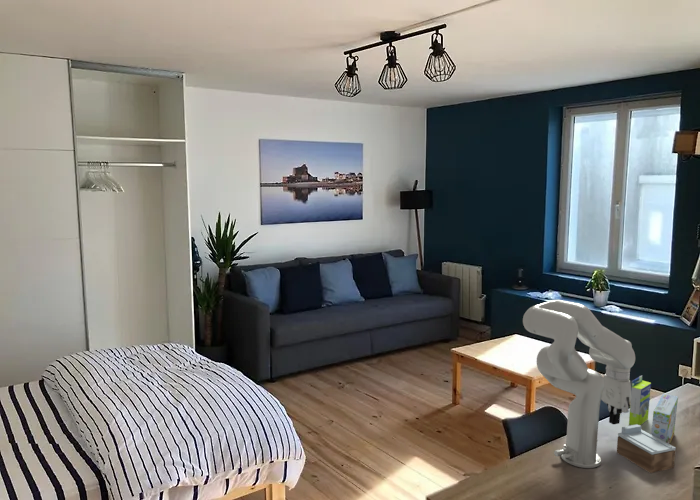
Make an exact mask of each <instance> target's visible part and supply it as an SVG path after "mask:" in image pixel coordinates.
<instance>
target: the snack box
mask: <svg viewBox="0 0 700 500" xmlns="http://www.w3.org/2000/svg"><path fill="white" fill-rule="evenodd" d="M678 402H679V396H677V395H672V394H669V393H668V394H667V393H662V395H661V397H660V398H659V400H658V403H657V404H656V406H655V408H654V410H653V413H652V415H653V416H652V424H651V433H650V434H651V435H653V436H655V437H657V438H658V439H660V440H662V441H664V442H666V443H668V444H670V445H671V443H672V441H673V438H674V435H675V428H676V417H677V412H678V411H677V410H678Z"/></svg>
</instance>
